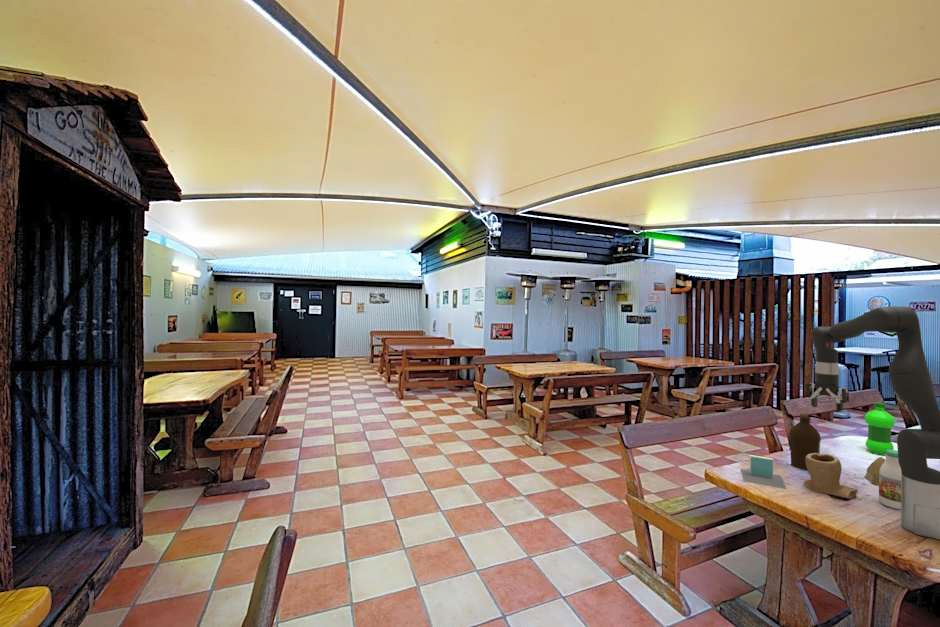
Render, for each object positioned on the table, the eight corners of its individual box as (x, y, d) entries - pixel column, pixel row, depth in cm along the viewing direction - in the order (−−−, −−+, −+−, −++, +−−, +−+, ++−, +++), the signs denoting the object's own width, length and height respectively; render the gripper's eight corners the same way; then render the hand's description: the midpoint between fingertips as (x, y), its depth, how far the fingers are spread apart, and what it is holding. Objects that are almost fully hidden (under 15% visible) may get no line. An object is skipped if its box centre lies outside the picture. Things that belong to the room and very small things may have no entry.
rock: (887, 483, 153) (901, 476, 156) (869, 462, 157) (883, 455, 161) (860, 489, 162) (874, 482, 165) (844, 469, 166) (857, 463, 169)
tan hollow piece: (800, 491, 153) (800, 453, 152) (806, 482, 160) (806, 446, 160) (853, 506, 141) (854, 465, 141) (858, 495, 148) (858, 457, 148)
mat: (786, 492, 152) (786, 489, 152) (743, 483, 159) (743, 481, 159) (780, 478, 164) (780, 475, 164) (740, 471, 171) (740, 468, 171)
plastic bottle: (858, 449, 195) (858, 400, 195) (877, 448, 196) (878, 400, 195) (880, 457, 185) (881, 406, 185) (900, 456, 186) (901, 405, 185)
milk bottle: (877, 497, 147) (877, 446, 146) (907, 504, 142) (907, 450, 141) (881, 506, 141) (881, 452, 140) (912, 513, 136) (912, 457, 135)
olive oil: (794, 472, 170) (794, 416, 169) (785, 463, 180) (785, 410, 179) (825, 475, 166) (825, 418, 165) (814, 466, 175) (814, 412, 175)
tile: (773, 478, 161) (773, 459, 161) (750, 474, 165) (750, 456, 165) (772, 477, 162) (772, 458, 162) (749, 472, 167) (749, 454, 166)
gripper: (802, 370, 171) (802, 406, 172) (842, 375, 158) (842, 414, 158) (812, 369, 174) (812, 404, 174) (853, 374, 161) (852, 412, 161)
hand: (826, 409), depth 166 cm, fingers open, 8 cm apart
